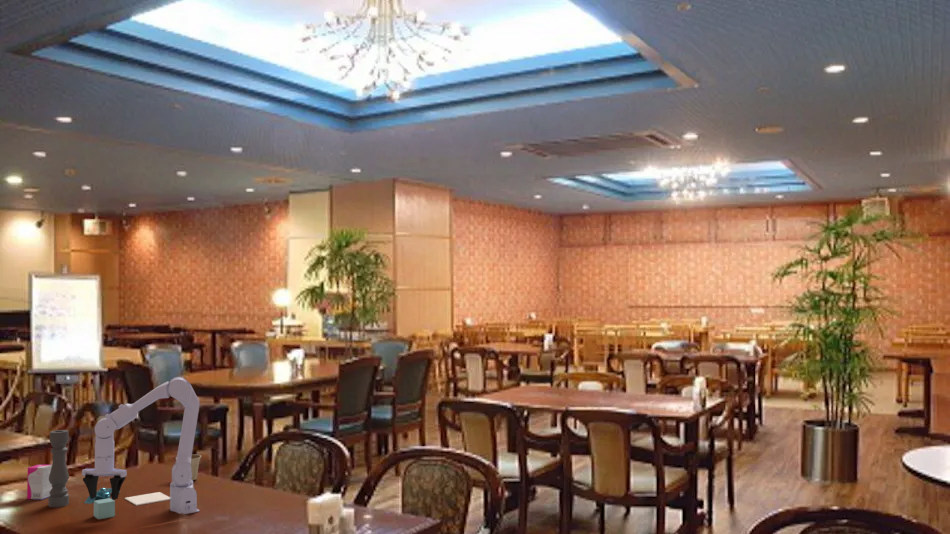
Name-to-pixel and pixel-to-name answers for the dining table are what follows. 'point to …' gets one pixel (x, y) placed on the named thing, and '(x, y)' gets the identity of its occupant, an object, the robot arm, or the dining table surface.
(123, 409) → the robot arm
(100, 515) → the teal cube
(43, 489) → the supplement box
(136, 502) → the mat
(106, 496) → the flying bird
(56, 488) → the candle holder
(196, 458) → the flower pot
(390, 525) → the dining table surface
